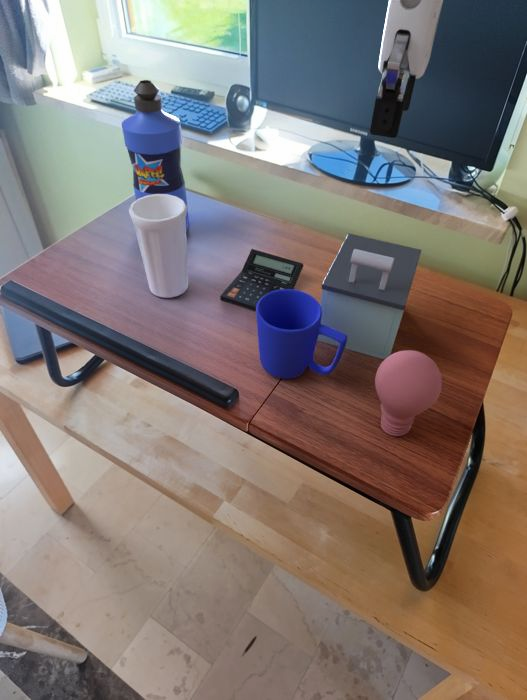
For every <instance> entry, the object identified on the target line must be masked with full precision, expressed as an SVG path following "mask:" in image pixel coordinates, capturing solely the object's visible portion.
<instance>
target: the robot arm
mask: <svg viewBox="0 0 527 700" xmlns="http://www.w3.org/2000/svg"><path fill="white" fill-rule="evenodd" d="M443 2H444V0H388V3H387V10H386V15H385V20H384V21H385V22H384V27H383V33H382V39H381V46H380V53H379V58H378V59H379V60H378V71H379V72H380V74H381V75H382V76H381V80H380V84H379V87H378V92H377V96H376V97H375V101H374V107H373V112H372V117H371V123H370V128H369V133H370V135H372V136H379V137H385V138H391V139H395V138H397V137H398V135H399V131H400V125H401V122H402V117H403V112H406V111H408V110H410V109H409V108H410V105H411V102H412V101H411V100H412V96H413V91H414V87H415V83H416V80H418V79H420V78H422V77H423V76H424V74H425V72H426V69H427V67H428V64H429V62H430V60H431V59H430V58H431V55H432V51H433V45H434V41H435V37H436V33H437V28H438V24H439V20H440V16H441V12H442V6H443Z"/></svg>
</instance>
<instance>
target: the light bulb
mask: <svg viewBox="0 0 527 700" xmlns="http://www.w3.org/2000/svg"><path fill="white" fill-rule="evenodd" d="M374 386H375V391H376V393H377V397H378V399H379V401H380V403H381V404H380V411H381V415H380V416H381V417H380V427H381V428H382V430H383V431H384V432H385V433H386V434H388V435H390V436H394V437H401V436H404V435H407V434H408V433H409V431H410V430H411V428H412V426H413V423H414V420H415V417H416V416H417V415H420V414H422V413H423V412H425V411H428V409H430V408H432V407H433V406H434V404H435V403H436V402H437V401H438V399H439V397H440V395H441V392H442V388H443V387H442V386H443V378H442V374H441V370H440V369H439V367H438V365H437V364H436V362H435V361H434V360H433V359H432V358H430V357H429V356H428V355H427V354H425V353H423V352H420V351H417V350H412V349H411V350H410V349H409V350H408V349H407V350H399V351H396V352H394V353H391V354H390V356H388V357H387V358H386V359H385V360H383V361H382V362H381V363H380V364H379V366H378V368H377V370H376V374H375V379H374Z"/></svg>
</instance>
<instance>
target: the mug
mask: <svg viewBox="0 0 527 700" xmlns="http://www.w3.org/2000/svg"><path fill="white" fill-rule="evenodd" d="M255 315H256V317H255V318H256V328H257V342H258V343H257V344H258V355H259V361H260V364H261V366H262V368H263V369H264V371H265V372H266V373H267V374H269V375H270V376H272V377H273V378H274V377H275V378H277V379H282V380H291V379H294V378H297V377H300V376H301V375H302V374H303V373H304V372H306V371H307V369H308V368H309V369H310V370H311V371H313V372H314V373H316V374H318V375H321V376H327V375H329V374H332V372H334V371H335V369H336V368H337V367H338V365H339V363H340V361H341V359H342V357H343V354H344V352H345V346H346V342H347V338H348V337H347V335H346V334H344V333H342V332H340V331H338V330H336V329H333V328H331V327H329V326H326V325H322V324H321V317H322V309H321V306H320V303H319V301H318V300H317V299H316V298H315V297H314V296H312V295H311V294H309V293H307V292H305V291H301V290H299V289H298V290H297V289H293V290H292V289H281V290H276V291H272V292H270V293H268V294H266V295H264V296H263V297H262V298H261V299H260V300H259V302H258V304H257V306H256V311H255ZM319 335H325V336H327V337H330V338H332V339H334V340H336V341H338V342H339V347H338V346H337V351H336V354H335V357H334V359H333V362H332V363H331V364H330V365H329V366H322V365H320V364H318V363H317V362H315V358H314V357H315V356H314V355H315V351H316V347H317V342H318V341H317V339H318V336H319Z"/></svg>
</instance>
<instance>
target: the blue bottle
mask: <svg viewBox="0 0 527 700" xmlns="http://www.w3.org/2000/svg"><path fill="white" fill-rule="evenodd" d="M133 92H134V94H136V95H135V96H134V97H133V101H134V102H133V103H134V108H135V110H136V111H135V113H134V114H132V115H130V116H128V117H126V118H124V120H122V122H121V129H122V136H123V140H124V146H125V147H126V149H127V154H128V157H129V160H130V163H131V164H130V165H131V167H132V179H133V180H132V182H133V183H132V185H133V192H134V197H135V201H136V200H137V199H139V198H142V197H144V196H147V195H154V194H168V195H172V196H176V197H178V198H180V199H181V200H183V201H184V203H185V205H186V206H187V207H188V201H187V190H186V181H185V177H184V174H183V170H182V143H183V139H182V127H181V126H182V125H181V121H180V119H179V118H178V117H176V116H174V115H172V114H169V113H167V112H165V111H164V110H162V109H163V99H162V96H161V95H160V94H158V93H159V92H160V88H159V87H158V86H157V85H156V84H155V83H154V82H153V81H151V80H149V79H142V80H140V81H139V82H138V83H137V85H136V86H135V87H134V89H133ZM188 211H189V210H188V208H187V212H186V218H185V219H186V233H187V232H189V231H188V230H189V229H190V222H189V221H190V220H189V213H188Z"/></svg>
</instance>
